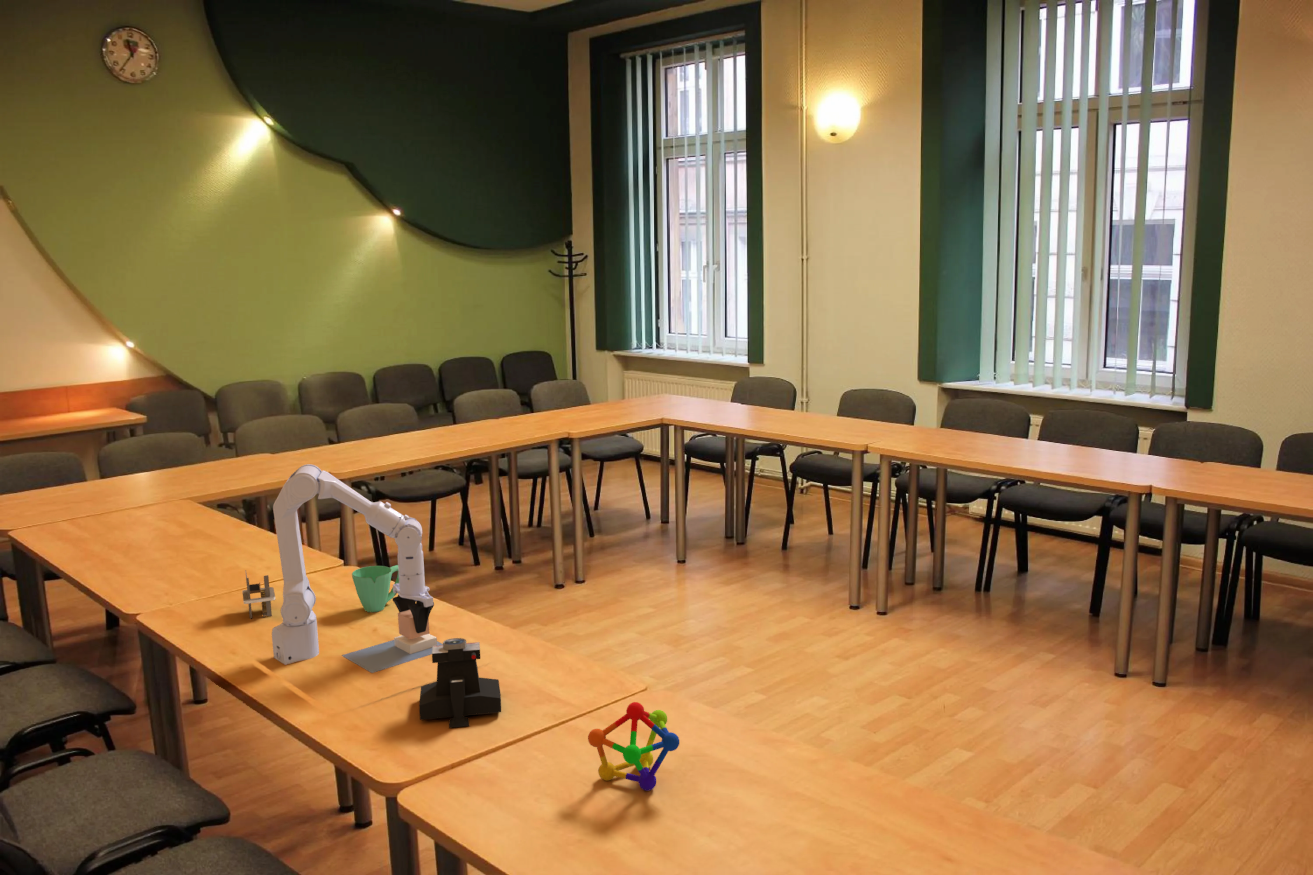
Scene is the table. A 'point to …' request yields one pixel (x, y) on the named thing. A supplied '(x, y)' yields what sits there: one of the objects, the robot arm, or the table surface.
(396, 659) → the board
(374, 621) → the table surface
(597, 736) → the educational toy
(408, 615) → the terracotta block
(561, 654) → the table surface
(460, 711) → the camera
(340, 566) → the table surface
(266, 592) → the architectural model
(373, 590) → the mug
